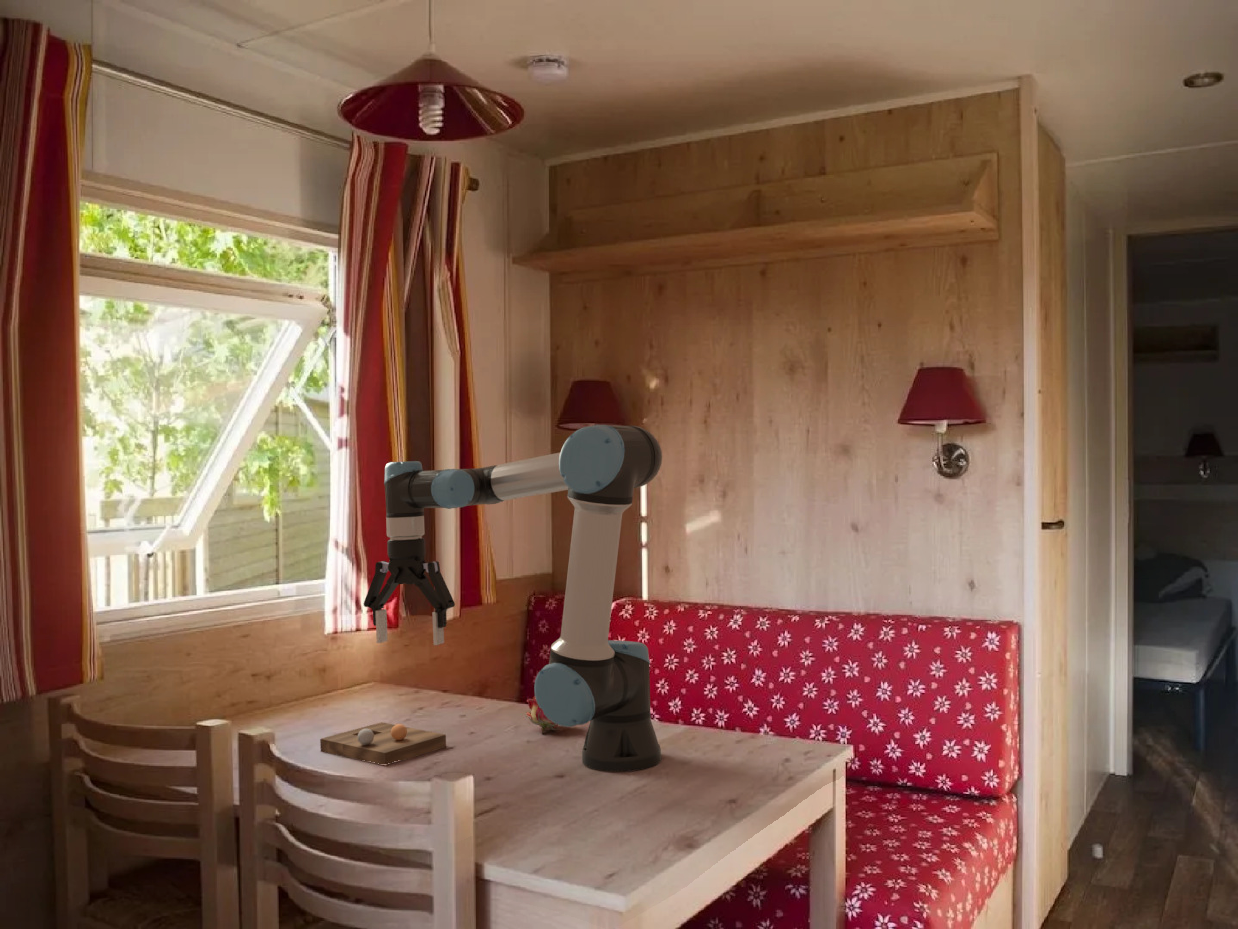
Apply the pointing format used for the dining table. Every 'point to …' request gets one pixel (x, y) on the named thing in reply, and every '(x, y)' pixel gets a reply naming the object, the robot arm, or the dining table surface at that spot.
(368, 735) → the grey ball
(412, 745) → the board
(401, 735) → the ball
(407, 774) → the dining table surface
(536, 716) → the flower
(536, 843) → the dining table surface
